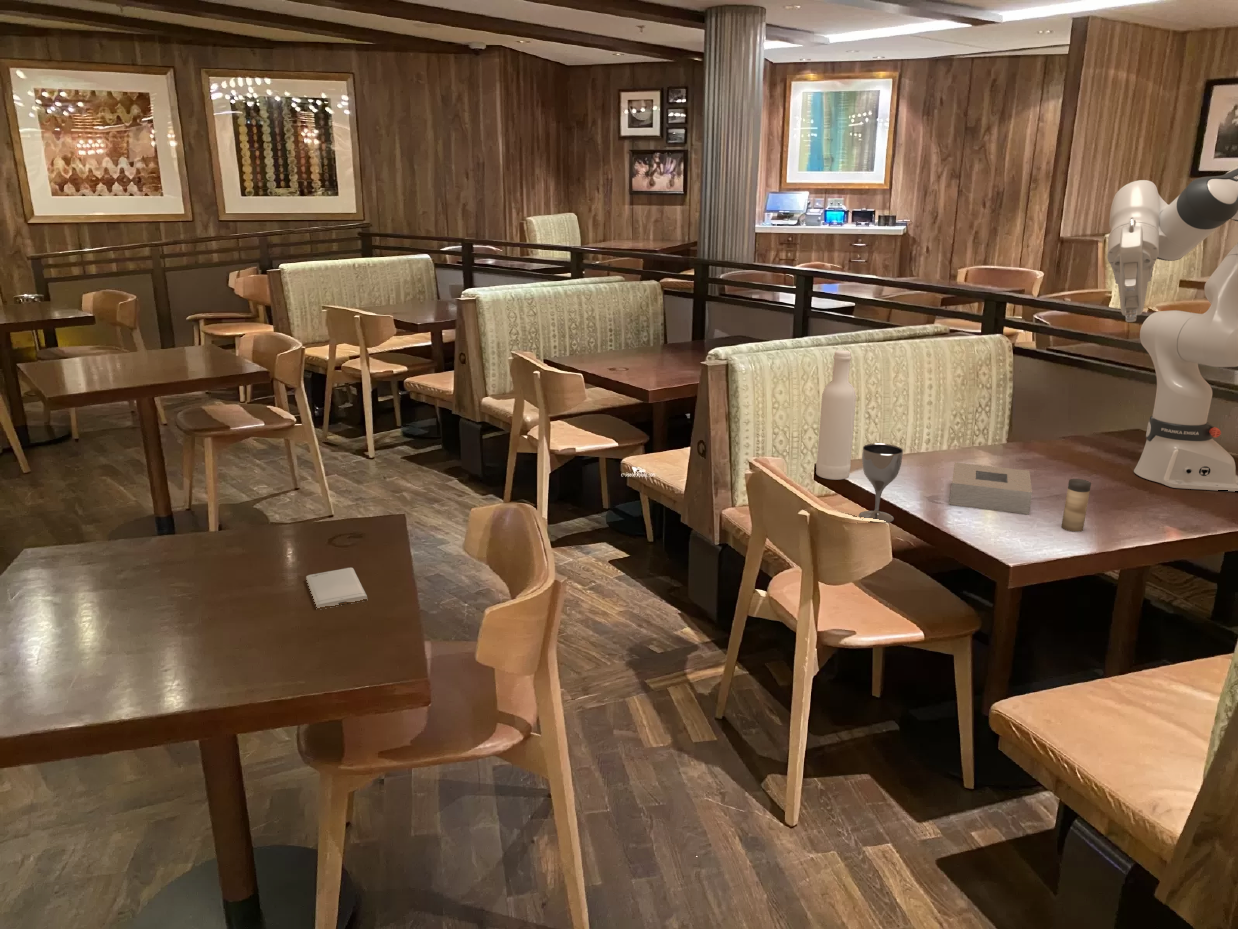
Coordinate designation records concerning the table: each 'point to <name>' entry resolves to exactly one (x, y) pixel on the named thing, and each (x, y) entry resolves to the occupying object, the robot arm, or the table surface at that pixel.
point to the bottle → (836, 422)
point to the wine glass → (880, 472)
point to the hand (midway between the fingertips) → (1130, 304)
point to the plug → (1076, 505)
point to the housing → (991, 488)
